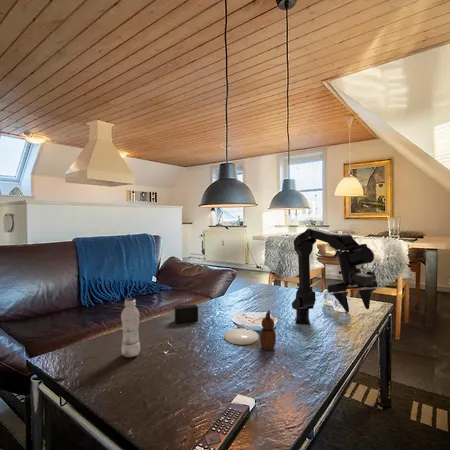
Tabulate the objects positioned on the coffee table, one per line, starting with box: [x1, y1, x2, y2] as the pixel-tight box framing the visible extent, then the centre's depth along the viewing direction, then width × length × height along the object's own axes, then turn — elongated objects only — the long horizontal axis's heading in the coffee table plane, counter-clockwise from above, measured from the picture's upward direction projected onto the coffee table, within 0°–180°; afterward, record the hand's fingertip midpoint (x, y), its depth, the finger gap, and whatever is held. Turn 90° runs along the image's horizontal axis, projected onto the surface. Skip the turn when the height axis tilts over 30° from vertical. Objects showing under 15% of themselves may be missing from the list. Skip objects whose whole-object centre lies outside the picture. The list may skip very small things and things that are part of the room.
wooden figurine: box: [259, 309, 277, 351], centre depth 111 cm, size 7×6×15 cm
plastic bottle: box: [120, 298, 141, 358], centre depth 105 cm, size 6×7×20 cm
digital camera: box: [174, 303, 199, 325], centre depth 139 cm, size 10×5×7 cm, turn 109°
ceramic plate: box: [223, 327, 260, 346], centre depth 121 cm, size 14×14×1 cm
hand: (357, 310), depth 106 cm, fingers open, 9 cm apart
